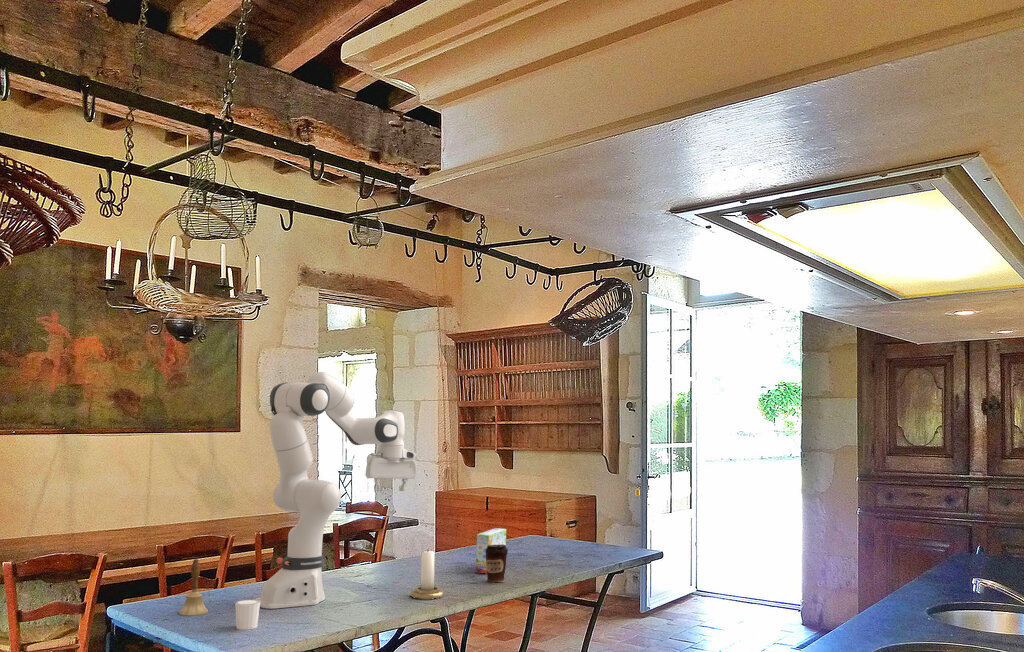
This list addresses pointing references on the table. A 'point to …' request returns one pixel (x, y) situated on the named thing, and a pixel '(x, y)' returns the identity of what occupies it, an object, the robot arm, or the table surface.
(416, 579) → the table surface
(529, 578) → the table surface
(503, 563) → the coffee cup
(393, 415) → the robot arm
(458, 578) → the table surface
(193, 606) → the hand bell
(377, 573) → the table surface
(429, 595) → the candle dish
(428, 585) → the candle
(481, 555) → the snack box
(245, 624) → the white tapered cup
